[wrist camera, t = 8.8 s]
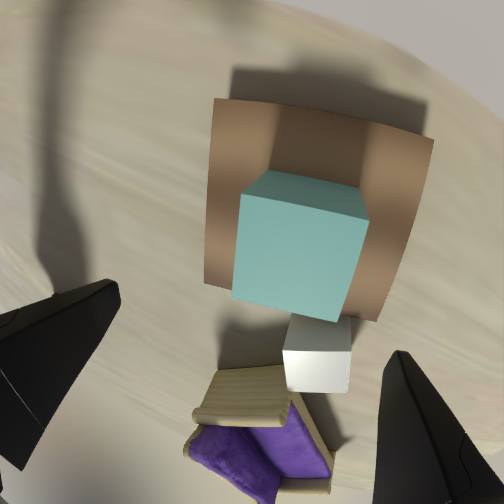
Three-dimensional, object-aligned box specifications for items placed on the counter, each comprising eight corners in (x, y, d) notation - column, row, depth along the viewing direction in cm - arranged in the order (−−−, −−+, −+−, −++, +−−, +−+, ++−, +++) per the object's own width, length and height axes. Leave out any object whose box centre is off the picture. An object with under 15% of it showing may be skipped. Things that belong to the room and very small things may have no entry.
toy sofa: (338, 453, 32) (327, 517, 23) (279, 454, 35) (262, 514, 26) (295, 356, 25) (271, 458, 16) (213, 363, 28) (171, 446, 19)
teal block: (338, 268, 17) (336, 322, 13) (257, 250, 18) (231, 297, 14) (359, 188, 15) (369, 220, 10) (267, 169, 16) (241, 193, 11)
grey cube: (348, 351, 23) (347, 392, 19) (296, 350, 24) (287, 391, 20) (351, 309, 21) (351, 351, 17) (292, 309, 22) (282, 350, 18)
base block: (372, 296, 21) (376, 321, 18) (218, 262, 23) (203, 283, 20) (418, 135, 15) (434, 139, 12) (231, 99, 17) (214, 98, 14)
